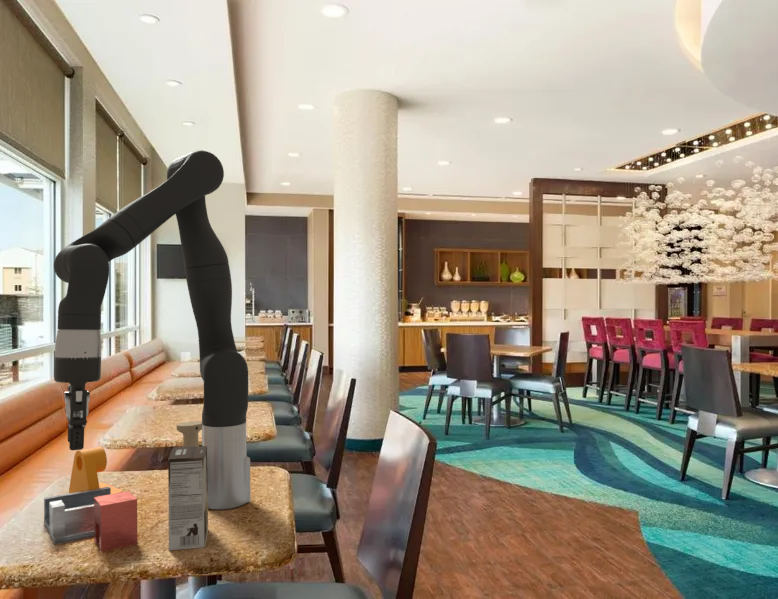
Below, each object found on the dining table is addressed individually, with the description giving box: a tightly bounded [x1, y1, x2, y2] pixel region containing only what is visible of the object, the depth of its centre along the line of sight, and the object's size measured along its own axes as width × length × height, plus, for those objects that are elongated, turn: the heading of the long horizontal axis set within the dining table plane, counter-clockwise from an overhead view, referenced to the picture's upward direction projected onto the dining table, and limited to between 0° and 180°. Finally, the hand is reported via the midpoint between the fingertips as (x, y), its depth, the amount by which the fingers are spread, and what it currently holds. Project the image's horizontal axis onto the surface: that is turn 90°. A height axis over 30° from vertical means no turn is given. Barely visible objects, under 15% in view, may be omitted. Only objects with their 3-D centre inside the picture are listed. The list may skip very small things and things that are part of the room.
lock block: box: [93, 490, 138, 553], centre depth 112 cm, size 6×6×8 cm
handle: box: [176, 420, 202, 447], centre depth 145 cm, size 5×6×15 cm
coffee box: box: [167, 445, 209, 551], centre depth 113 cm, size 9×6×16 cm
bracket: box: [68, 446, 124, 494], centre depth 135 cm, size 11×7×12 cm, turn 49°
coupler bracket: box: [43, 487, 111, 546], centre depth 120 cm, size 12×14×6 cm
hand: (75, 445), depth 111 cm, fingers open, 8 cm apart
